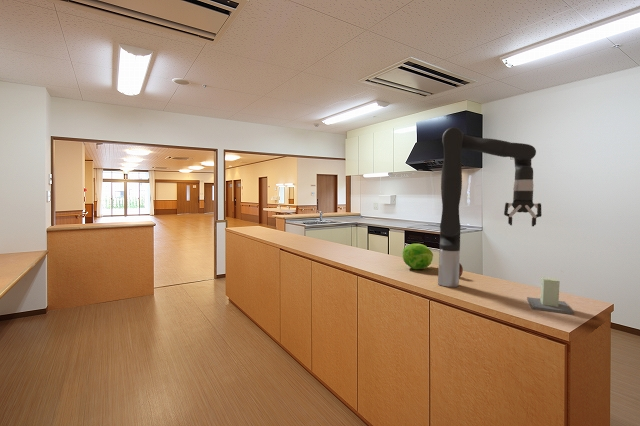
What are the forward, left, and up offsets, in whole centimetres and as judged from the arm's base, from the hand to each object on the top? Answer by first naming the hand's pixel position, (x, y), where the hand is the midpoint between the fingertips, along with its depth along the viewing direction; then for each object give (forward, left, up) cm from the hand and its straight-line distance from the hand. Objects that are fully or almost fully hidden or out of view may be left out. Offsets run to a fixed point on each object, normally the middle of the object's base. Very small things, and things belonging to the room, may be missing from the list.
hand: (521, 225), depth 147 cm
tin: (-30, +17, -30) cm, 46 cm away
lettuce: (-48, +27, -30) cm, 63 cm away
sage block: (+8, -19, -29) cm, 36 cm away
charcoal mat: (+8, -19, -30) cm, 36 cm away
